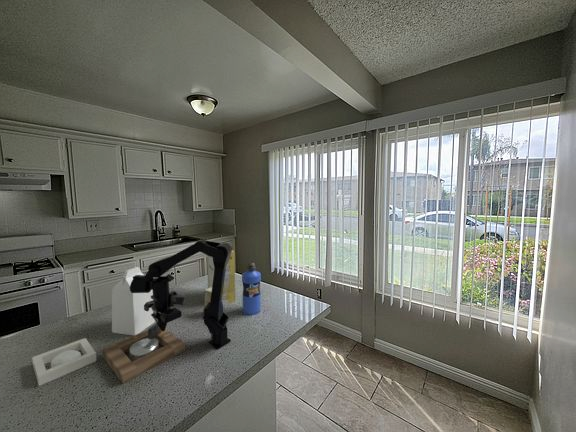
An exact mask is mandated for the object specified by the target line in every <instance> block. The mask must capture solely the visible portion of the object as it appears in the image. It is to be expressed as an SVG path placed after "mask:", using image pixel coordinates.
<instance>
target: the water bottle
mask: <svg viewBox="0 0 576 432" xmlns="http://www.w3.org/2000/svg"><path fill="white" fill-rule="evenodd" d="M256 269H257V267H256V264H255V262H254V261H249V262H248V263H247V266H246V271H245V272H243V273H242V274H241V282H242V289H243V290H242V314H243V315H247V316H254V315H258V314H259V313H261V310H262V308H261V307H262V305H261V299H262V298H261V297H262V296H261V294H262V293H261V280H262V278H261V275H262V274H261V272H260V271H257V270H256Z"/></svg>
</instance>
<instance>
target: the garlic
mask: <svg viewBox="0 0 576 432" xmlns="http://www.w3.org/2000/svg"><path fill="white" fill-rule="evenodd" d="M80 356H82V352H81V351H80V350H79V351H75V350H69V351H65V352H62V353H60V354H59V355H57V356H56V357H55V358H53V360H52V361H51V362H50V368H53V367H55V366H58V365H60V364H63V363H65V362H68V361H70V360H72V359H75V358H77V357H80Z"/></svg>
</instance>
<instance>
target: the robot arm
mask: <svg viewBox="0 0 576 432" xmlns="http://www.w3.org/2000/svg"><path fill="white" fill-rule="evenodd" d="M232 250H233V247H232V246H231V244H229V243H227V242H222V243H221V242H218V241H217V242H216V241H211V240H207V239H199V240H197V241H195V243H193V244H192V245H190V246H188V247H185V248H184V249H181V250H180V251H178V252H176V253H174V254H173V255H169V256H166V257H163V258H160V259H158V260H156V261H154V262H152V263H151V264H149V265H148V269H147V272H146V273H145V274H144V275H135V276H133V280H132V282H131V285H130V291H131V293H149V292H150V291H151V290H153V295H152V296H151V299H153V300H152V301H149V302H146V303H145V305H144V310H145V311H149V308H152V311H153V314H151V316H152V317H153V319H154V320H155V321H156V322H155V324H156V323H157V324H158V326H159V328H160V329H161V331H162V332H163V331H165V329H167V326H168V325H167V324H168V323H170V322H172V321H176V320H177V319H179V318H182V317H183V315H182V314H183V313H182V310H180V309H178V308H176V307H175V305H176V306H177V305H180V306H183V305H184V301H185V298H186V297H185V296H184V295H181V294H178V293H177V291H175V290H171V291H170V282H172V281H174V279H175V277H174V276H172V275H171V274H170V273H168V272H169V271H171V270H172V269H173V268H174V267H175V266H176V265H178V264H179V263H181V262H183V261H185V260H187V259H189V258H190V257H193V256H194V255H196V254H198V253H202V254H204V255H206V256H207V255H208V256H210V257H213V264H214V268H215V269H214V277H213V284H212V292H211V299H210V302H209V303H208V304H207V305H206V307H205V306H204V308H203V316H202V318H201V319H202V320H203V324H204V325H205V327H207V329H208V332H209V334H210V339H209V341H207V343H208V344H209V345H211V346H212V347H213V348H215V349H216V350H218V349H221V348H222V347H224V346H226V345H227V344H229V343H231V339H230V338H228V337H229V336H228V335H229V334H228V327H227V323H228V322H229V320H230V317H229V316H228V314H226V313H225V312H224V304H222V294H223V286H224V279H225V272H226V266H227V264H228V261H229V259H230V256H231V252H232ZM167 273H168V274H167ZM165 274H166V275H165ZM163 275H164V276H163Z"/></svg>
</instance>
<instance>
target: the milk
mask: <svg viewBox="0 0 576 432" xmlns="http://www.w3.org/2000/svg"><path fill="white" fill-rule="evenodd" d="M135 275H145V274H144V273H143V272H142V270H141V268H140V267H139V266H136V267H133V268H130V269H127V270H125V271H124V273H123V276H122V278H121V280H119V282H118V283H117V284H115V286H113V287H112V290H111V333H113V334H122V335H126V336H134V335H137V334H139V333H142V332H144V330H146V329H147V328H148V327H150V326H152V324H153V325H154V324H155V323H156V321H155V320H154V319H153V317H152V316H151V314H153V311H152V308H149V311H145V310H144V305H145V303H146V302H149V301H152V300H153V299H151V296H152V295H153V290H151V291H150V292H149V293H131V291H130V285H131V282H132V280H133V276H135Z"/></svg>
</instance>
